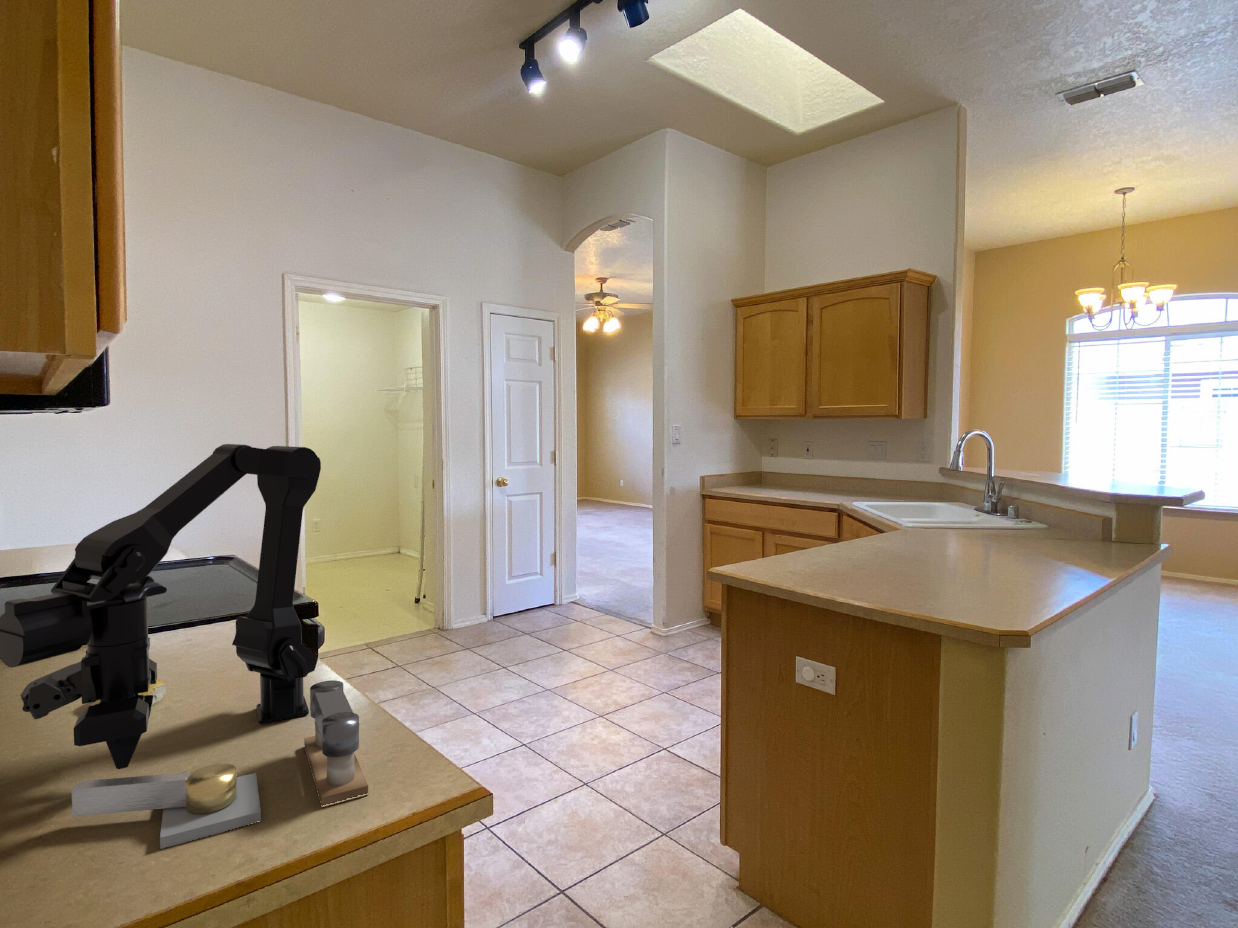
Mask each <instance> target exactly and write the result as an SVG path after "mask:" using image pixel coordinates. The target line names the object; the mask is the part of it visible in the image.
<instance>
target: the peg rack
mask: <svg viewBox="0 0 1238 928" xmlns="http://www.w3.org/2000/svg"><path fill="white" fill-rule="evenodd" d="M314 726H315V727H314V731H315V732H314V733H315V734H314V735H313V736H308V737H304V739H303V744H304V745H305V747H304V750H305V749H306V751H305V753H306V752H307V754H306V757H307V756H308V758H307V761H308V760H309V761H308V764H309V763H310V765H309V767H310V766H311V768H310V771H311V770H312V772H311V775H312V774H313V776H312V778H313V777H314V779H313V781H314V780H315V783H314V785H315V784H316V786H315V789H316V788H317V790H316V792H317V791H318V793H317V795H318V794H319V797H318V799H319V798H320V800H319V802H320V801H321V804H320V806H321V805H322V806H323V805H326V804H330V803H335V802H337V801H342V800H346V799H347V798H352V797H357V796H358V795H363V794H367V793H368V794H369V784H368V782H367V779H366V778H365V775H364V772H363V770H362V768H361V765H360V763H359V761H358V758H357V756H356V753H355V752H353V753H352V754H349V755H346V756H342V757H327V756H325V755H324V754H323V753H322V738H321V735H320V732H319V729H318V726H317V723H316V720H315V719H314ZM304 745H303V746H304Z"/></svg>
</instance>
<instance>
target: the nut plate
mask: <svg viewBox="0 0 1238 928" xmlns="http://www.w3.org/2000/svg"><path fill="white" fill-rule="evenodd" d="M260 803H261V802H260V794H259V787H258V778H257V773H256V772H254V773H250V774H245V775H240V776H238V777H237V797H236V799H235V800H234V801H233V802H232V803H231V804H230V805H228V806H226V807H224V808H222V809H220V810H217V811H214V812H210V813H204V814H194V813H190V812H188V811H187V810H186V806H184V807H173V808H162V809H163V810H162V818H161V826H160V834H159V835H160V836H159V845H160V846H159V847H160V850H163V849H166V847H167V848H170V847H173V846H174V847H175V846H177V845H181V844H184V843H188V841H189V842H192V840H193V841H195V840H199V839H198V838H200V839H203V837H204V838H207V837H210V836H209V835H211V836H213V835H214V836H215V835H219V834H221V833H224V832H225V831H226V832H229V831H228V830H230V831H233V830H236V829H235V828H237V829H239V828H238V827H241V826H244V827H246V826H245V825H248V824H251V823H255V822H257V821H261V822H262V809H261V804H260ZM255 824H256V823H255ZM248 826H249V825H248ZM241 828H242V827H241ZM232 829H233V830H232ZM226 832H225V833H226Z"/></svg>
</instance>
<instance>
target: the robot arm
mask: <svg viewBox="0 0 1238 928" xmlns="http://www.w3.org/2000/svg"><path fill="white" fill-rule="evenodd" d="M321 467H322V462H321V458H320V457H319V456H318V455H317V454H316V452H315V451H314V450H313V449H312V448H309V447H305V446H286V445H272V446H269V447H266V448H261V447H253V446H251V445H248V444H239V443H238V444H237V443H235V444H234V443H224V444H221V445H220V446H218V447H216V448H215V449H214V450H213V451H212V454H211V455H209V456H208V457H206V458H205V459H204V460H203V461H202V462H200V463H199V464H198V465H197V466H196V467H194V468H193V469H191V470H190V471H189V472H188V473H186V474H185V475H184V476H182V477H181V478H180V479H179V480H177V481H176V482H175V483H174V484H172V485H171V486H170V487H168V489H166V490H164V492H162V493H161V494H160V495H158V496H157V497H156V498H154V499H153V500H152V501H151V502H150V503H148V504H147V505H146V506H145V507H143V508H141V509H139V510H138V511H136V512H133V513H131V514H129V515H126V516H123V517H121V518H118V519H116V520H113V521H111V522H109V523H107V524H105V525H103V526H101V527H100V528H98V529H96V530H95V531H93V532H91V533H89V534H88V535H87V534H86V536H84V537H83V538H82V539H81V540H80V541H79V542H78V544H77V545H76V547H75V549H74V551H75V554H74V558H73V559H72V561H70V564H69V565H68V566H67V567H66V569H65V570H64V572H63V573H62V575H60V577H59V578H58V580H57V581H56V583H55V584H54V585H53V587H52V588H51V589H50V594H47V595H41V596H37V597H31V598H16V599H10V600H7V601H5V602H4V613H2V614H1V615H0V660H1V662H2V663H3V664H4V665H5V666H7V668H11V669H12V668H13V669H14V668H18V667H21V666H24V665H29V664H32V663H35V662H40V661H43V660H47V659H51V658H54V657H58V656H61V655H65V654H69V653H73V652H77V651H79V650H80V649H81V648H83V645H86V650H85V655H84V657H82V658H81V660H80V661H78V662H76V663H73V664H70V665H67V666H65V667H62V668H60V669H58V670H55V671H53V672H51V673H48V674H45V675H43V676H41V677H39V678H37V679H34V680H32V681H30V682H29V683H28V684H27V685H26V686H25V687H24V689H23V690H22V692H21V693H20V699H21V700H22V703H23V705H22V711H23V712H24V713H30V715H31V717H32V718H33V720H39V719H42V718H44V717H47V716H48V715H49V714H50V713H52V712H53V711H56V710H58V709H60V708H63V707H64V706H67V705H69V704H71V703H74V702H76V701H77V700H80V699H81V704H82V705H86V704H91V703H92V702H96V700H99V703H98V704H95V705H93V706H92V705H88V707H87V708H85V709H84V710H83V711H82V712H81V713H80V714H79V715H78V717H77V719H76V722H75V724H74V726H73V746H76V747H84V746H90V745H95V744H99V743H104V742H105V743H106V745H107V748H108V751H109V753H110V756H111V758H112V761H113V764H114V766H115V769H116V770H122V769H126V768H128V767H129V766H130V762H131V760H132V759H133V756H134V753H135V751H136V749H137V747H138V743H139V741H140V739H141V737H142V735H143V734H145V733H147V731H148V726H149V719H150V716H151V711H152V707H153V706H152V702H153V695H146V696H144V695H139V693H144V692H148V690H149V685H150V684H156V681H157V679H158V663H157V662H155V661H154V660H152V659H151V658H150V652H149V650H150V646H151V638H150V637H149V622H148V616H149V615H148V598H149V597H154V596H157V595H163V594H165V593H167V591H168V589H167V587H166V586H163V585H162V584H160V583H158V582H157V581H155V580H154V578H153V577H152V576H151V575H150V574H151V573H152V572H153V571H154V569H155V568H156V567H157V565H159V563H160V562H161V561H162V560H163V559H164V557H165V556H166V555H167V553H168V552H169V549H170V547H171V545H172V542H173V540H174V538H175V537H176V536H177V535H178V533H179V532H180V531H181V530H183V528H185V527H186V526H187V525H188V524H190V523H191V522H192V521H193V520H194V519H195V518H196V517H198V516H199V515H200V514H201V513H202V512H204V511H205V510H206V509H207V508H208V507H209V506H210V505H211V504H213V503H214V502H216V501H217V500H218V499H219V498H220V497H221V496H222V495H224V494H225V493H226V492H227V491H228V490H230V488H231V487H232V488H233V486H234V485H235V484H237V482H239V481H240V480H241V479H242V478H243V477H244V476H246V475H256V480H257V484H256V485H257V488H258V490H259V492H260V495H261V497H262V499H263V502H264V505H265V510H264V518H263V519H264V520H263V530H262V540H261V544H260V545H261V547H260V555H259V566H258V575H257V581H256V591H255V592H256V593H255V600H254V601H255V602H254V604H253V606H252V608H250V610H249V612H248V613H247V615H246V616H238V617H236V619H235V634H234V635H235V636H234V639H233V640H232V643H231V644H232V646H234V647H235V652H236V656H237V657H238V658H239V659H240V660H241V661H242V662H243V663H245V667H246V668H247V671H248V672H255V673H258V674H259V683H260V684H259V686H260V688H259V690H260V691H259V692H260V694H259V695H260V703H257V704H256V714H257V718H258V719H257V720H258V723H259V724H263V725H264V724H267V723H273V722H277V721H281V720H282V719H283V720H286V719H291V718H292V717H293V718H296V717H297V718H298V717H301V716H306V715H309V714H310V710H309V707H308V704H307V703H308V702H307V701H306V697H305V695H304V692H305V691H304V678H306V677H307V676H308V674H310V673H312V672H314V671H315V670H316V667H317V664H318V660H319V656H318V654H316V653H314V651H312V650H311V649H310V648H308V647H306V646H305V645H304V644H303V642H302V641H303V637H302V624H301V621H300V619H299V617H298V614H297V612H296V609H295V608H294V598H295V597H294V595H295V587H296V577H297V570H298V569H297V567H298V559H299V550H300V548H299V547H300V539H301V530H302V523H303V522H302V521H303V513H304V507H305V506H306V504H307V503H308V501H309V500H310V499H311V498H312V496H313V495H314V493H315V492H316V490H317V486H318V482H319V478H320V474H321V470H322V468H321ZM91 579H92V580H96V581H98V582H97V583H92V582H89V581H90V580H91Z"/></svg>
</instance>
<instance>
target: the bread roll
mask: <svg viewBox="0 0 1238 928" xmlns="http://www.w3.org/2000/svg"><path fill="white" fill-rule="evenodd" d="M166 692H167V686H166V684H165V683H164V682H163V681H162V680H160V679H159V678H157V681H156V684H150V685H149V690H148V692H144V693H139V695H144V696H146V695H153V702H152V706H151V707H153V706H154V705H155V704H158V703H159V702H161V701H162V700H163V698H164V697H165V696H166ZM98 703H99V700H96V702H92V703H90V704H91V705H90V706H93V705H95V704H98Z"/></svg>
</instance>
